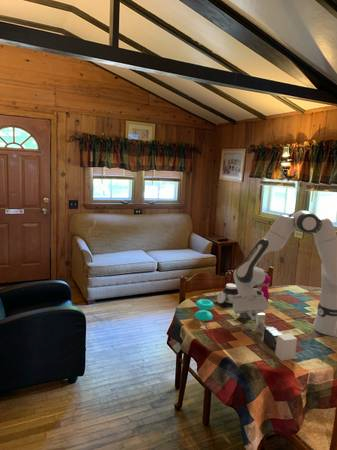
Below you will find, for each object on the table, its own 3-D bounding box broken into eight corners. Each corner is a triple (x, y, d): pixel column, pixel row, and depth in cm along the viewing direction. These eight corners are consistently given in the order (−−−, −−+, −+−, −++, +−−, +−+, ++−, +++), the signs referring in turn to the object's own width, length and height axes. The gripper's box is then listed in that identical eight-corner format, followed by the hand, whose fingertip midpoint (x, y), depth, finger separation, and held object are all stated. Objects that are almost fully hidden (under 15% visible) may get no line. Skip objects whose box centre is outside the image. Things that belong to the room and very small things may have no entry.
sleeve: (271, 340, 173) (273, 326, 172) (281, 349, 166) (283, 334, 164) (263, 341, 172) (264, 327, 170) (272, 350, 164) (274, 335, 163)
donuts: (199, 306, 188) (193, 298, 198) (198, 322, 190) (192, 314, 200) (216, 305, 191) (210, 298, 200) (215, 321, 193) (208, 314, 202)
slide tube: (261, 330, 181) (263, 312, 179) (282, 348, 164) (284, 329, 163) (254, 331, 180) (256, 313, 178) (274, 349, 163) (277, 329, 161)
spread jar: (239, 303, 221) (241, 286, 218) (230, 308, 212) (232, 290, 210) (223, 297, 228) (225, 281, 226) (214, 302, 220) (215, 284, 218)
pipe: (259, 322, 195) (261, 309, 193) (237, 319, 197) (238, 306, 196) (259, 318, 201) (260, 305, 199) (237, 315, 203) (238, 302, 202)
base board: (266, 331, 185) (266, 329, 185) (299, 359, 159) (299, 357, 159) (244, 333, 181) (244, 331, 181) (275, 363, 155) (275, 361, 155)
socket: (287, 352, 163) (290, 333, 161) (294, 358, 158) (297, 338, 156) (275, 354, 161) (277, 334, 159) (281, 360, 156) (284, 340, 154)
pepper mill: (266, 305, 219) (270, 275, 215) (255, 302, 223) (259, 273, 219) (270, 302, 225) (273, 273, 221) (259, 299, 229) (262, 270, 225)
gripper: (232, 294, 185) (239, 319, 178) (265, 291, 192) (273, 316, 184) (228, 298, 190) (235, 323, 183) (260, 296, 197) (268, 320, 189)
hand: (254, 319), depth 184 cm, fingers closed
